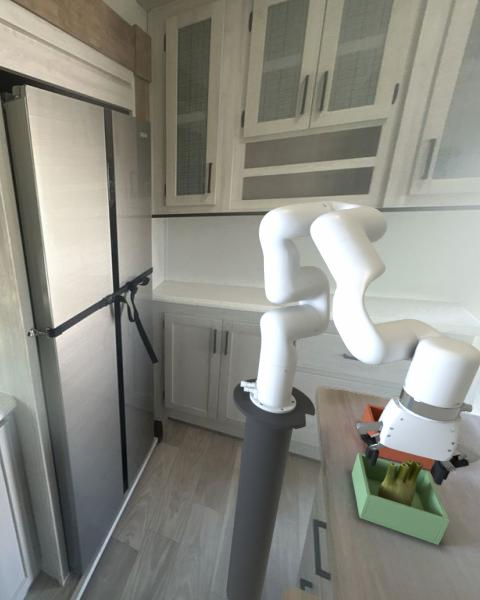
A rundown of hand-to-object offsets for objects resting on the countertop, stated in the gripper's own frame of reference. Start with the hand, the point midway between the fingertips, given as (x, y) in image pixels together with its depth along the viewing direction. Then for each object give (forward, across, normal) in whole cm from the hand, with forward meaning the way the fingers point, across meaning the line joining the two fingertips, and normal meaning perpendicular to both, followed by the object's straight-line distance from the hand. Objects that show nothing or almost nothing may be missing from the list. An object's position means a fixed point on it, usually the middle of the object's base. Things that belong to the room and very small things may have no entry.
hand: (401, 469), depth 66 cm
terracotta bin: (+10, -4, -20) cm, 23 cm away
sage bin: (+10, 0, 0) cm, 10 cm away
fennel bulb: (+10, 0, 0) cm, 10 cm away
